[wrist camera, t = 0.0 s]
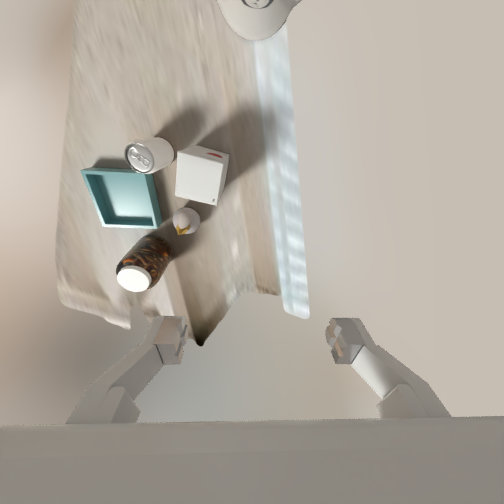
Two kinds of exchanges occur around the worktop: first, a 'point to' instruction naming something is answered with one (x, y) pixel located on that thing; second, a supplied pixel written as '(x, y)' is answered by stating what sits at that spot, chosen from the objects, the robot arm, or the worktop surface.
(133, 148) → the can
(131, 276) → the jar
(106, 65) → the worktop surface
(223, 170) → the supplement box
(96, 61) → the worktop surface
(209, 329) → the worktop surface
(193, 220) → the perfume bottle
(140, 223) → the bin
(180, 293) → the worktop surface
